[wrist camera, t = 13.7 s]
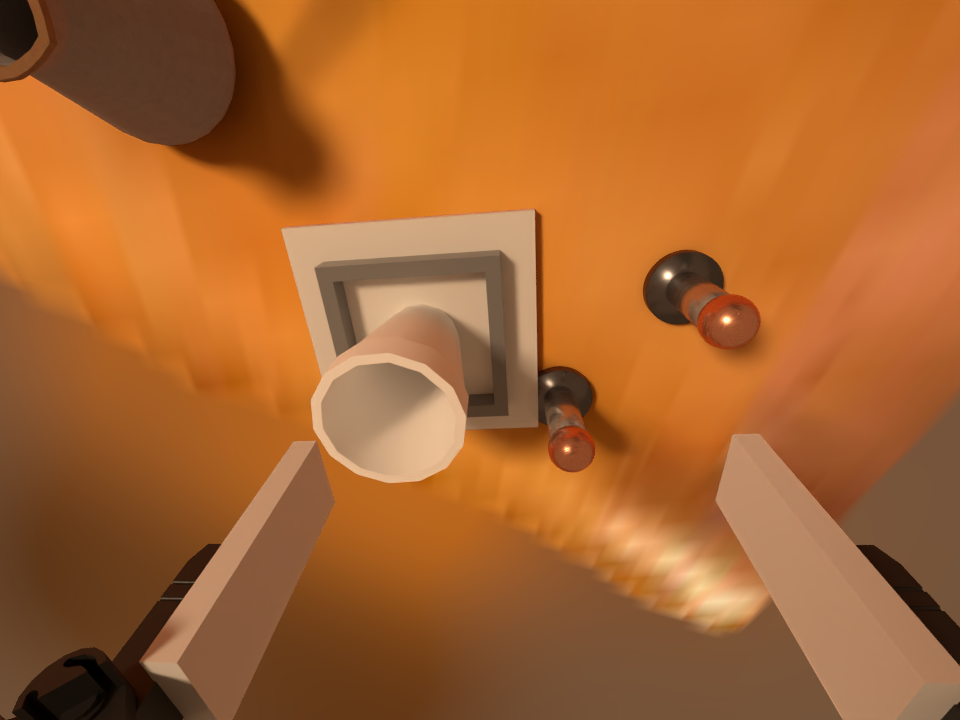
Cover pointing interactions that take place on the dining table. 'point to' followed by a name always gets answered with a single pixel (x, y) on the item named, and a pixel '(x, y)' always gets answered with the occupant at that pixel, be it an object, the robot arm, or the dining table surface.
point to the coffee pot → (126, 61)
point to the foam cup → (396, 399)
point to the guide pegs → (671, 298)
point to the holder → (432, 295)
